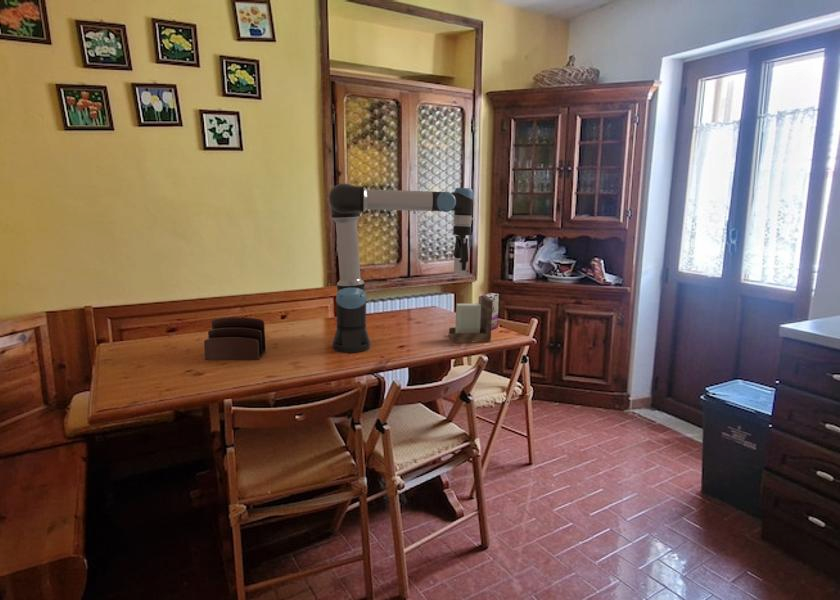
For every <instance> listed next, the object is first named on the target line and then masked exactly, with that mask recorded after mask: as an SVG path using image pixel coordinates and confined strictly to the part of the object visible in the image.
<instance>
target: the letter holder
mask: <svg viewBox="0 0 840 600" xmlns="http://www.w3.org/2000/svg"><path fill="white" fill-rule="evenodd" d="M265 330H266V329H265V321H264V320H263V319H260V318H255V317H253V318H252V317H241V316H238V317H235V316H234V317H233V316H232V317H221V318H215V319H212V320H211V329H208V331H207V334H208V335H207V337H208V338H207V339H205V340H204V341H203V345H204V346H203V348H204V360H206V361H207V360H209V361H210V360H211V361H219V360H220V361H232V360H233V361H260V360H261V358H262V357H263V356H264V355H265V354H266V352H267V350H266V346H267V345H266V332H265Z"/></svg>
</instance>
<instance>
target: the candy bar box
mask: <svg viewBox="0 0 840 600" xmlns="http://www.w3.org/2000/svg"><path fill="white" fill-rule="evenodd" d="M482 296H487V297H489V298H490V299H491V300H492V301H493V305H492V324H491V331H493V330H495V329H498V328H499V327H498V325H499V302H500V294H499V293H495V292H494V293H493V292H489V293H486V294H483V295H479V296H478V304H480V305H481V299H482ZM480 320H481V319H480Z"/></svg>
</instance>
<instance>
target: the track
mask: <svg viewBox="0 0 840 600" xmlns="http://www.w3.org/2000/svg"><path fill="white" fill-rule="evenodd" d="M481 296H482V295H481ZM492 305H493V301H492V300H491V299H490V298H489V297H487V296H482V299H481V320H480V333H455V326H454V327H449V329H448V330H449V331H448V332H449V333H448V336H449V337H450V339H451V340H452V342H453V343H473V342H472V341H491V340H492V330H491V324H492ZM491 342H492V341H491Z"/></svg>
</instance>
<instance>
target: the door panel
mask: <svg viewBox="0 0 840 600" xmlns="http://www.w3.org/2000/svg"><path fill="white" fill-rule="evenodd" d="M455 305H456V307H455V326H454V327H455V333H480V319H481V305H480V304H479V303H456V304H455Z"/></svg>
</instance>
